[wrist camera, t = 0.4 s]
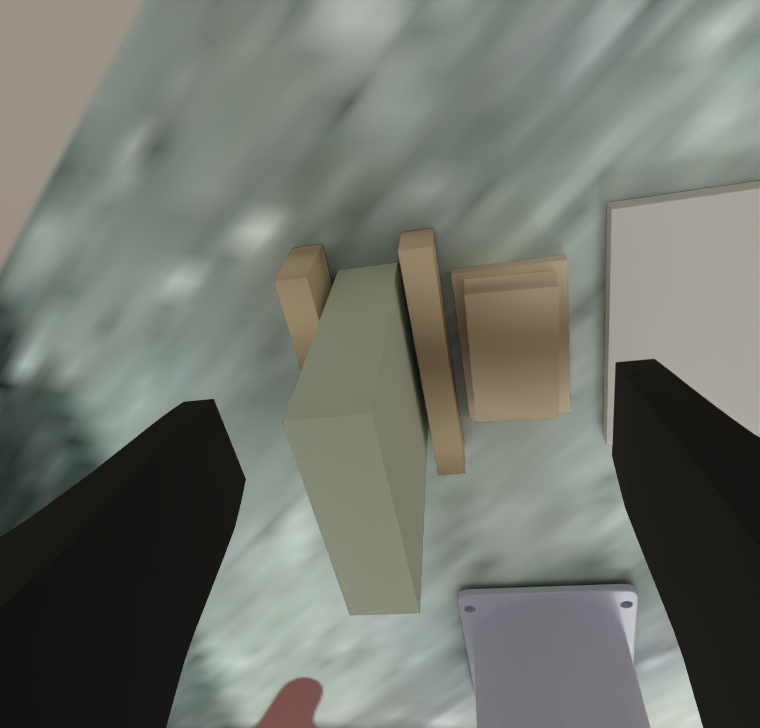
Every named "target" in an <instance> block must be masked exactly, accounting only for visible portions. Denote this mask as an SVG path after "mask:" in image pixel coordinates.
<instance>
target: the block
mask: <svg viewBox="0 0 760 728" xmlns="http://www.w3.org/2000/svg"><path fill="white" fill-rule="evenodd" d="M283 424H284V427H285V430H286V433H287V436H288V439H289V442H290V445H291V447H292V450H293V453H294V456H295V459H296V462H297V465H298V468H299V471H300V473H301V476H302V479H303V482H304V485H305V488H306V491H307V494H308V496H309V499H310V502H311V505H312V508H313V511H314V514H315V517H316V520H317V522H318V525H319V528H320V531H321V534H322V537H323V540H324V543H325V546H326V548H327V551H328V554H329V557H330V560H331V563H332V566H333V569H334V572H335V574H336V577H337V580H338V583H339V586H340V589H341V592H342V595H343V598H344V600H345V603H346V606H347V609H348V612H349V615H375V614H409V613H420V599H421V576H422V553H423V530H424V506H425V483H426V460H427V437H428V427H427V421H426V416H425V410H424V405H423V399H422V394H421V389H420V383H419V378H418V372H417V367H416V361H415V356H414V350H413V345H412V339H411V334H410V329H409V323H408V318H407V312H406V307H405V301H404V296H403V290H402V285H401V280H400V274H399V269H398V263H390V264H382V265H375V266H368V267H360V268H353V269H345V270H338V272H337V275H336V278H335V280H334V283H333V286H332V288H331V291H330V294H329V297H328V299H327V302H326V305H325V307H324V310H323V313H322V316H321V318H320V321H319V324H318V327H317V329H316V332H315V335H314V337H313V340H312V343H311V346H310V348H309V351H308V354H307V356H306V359H305V362H304V365H303V367H302V370H301V373H300V375H299V378H298V381H297V384H296V386H295V389H294V392H293V395H292V397H291V400H290V403H289V405H288V408H287V411H286V414H285V416H284V419H283Z"/></svg>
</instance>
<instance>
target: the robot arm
mask: <svg viewBox="0 0 760 728" xmlns="http://www.w3.org/2000/svg"><path fill="white" fill-rule="evenodd" d="M612 457H613V461H614V465H615V469H616V474H617V478H618V482H619V486H620V490H621V493H622V497H623V501H624V505H625V508H626V511H627V513H628V516H629V519H630V521H631V524H632V526H633V529H634V532H635V534H636V537H637V539H638V542H639V544H640V547H641V549H642V552H643V554H644V557H645V559H646V562H647V565H648V567H649V570H650V572H651V575H652V577H653V580H654V582H655V585H656V587H657V590H658V592H659V595H660V597H661V600H662V602H663V605H664V607H665V610H666V612H667V615H668V617H669V620H670V622H671V625H672V627H673V630H674V633H675V636H676V639H677V641H678V644H679V647H680V650H681V653H682V656H683V659H684V662H685V666H686V669H687V672H688V676H689V679H690V683H691V686H692V690H693V693H694V697H695V700H696V704H697V707H698V711H699V714H700V718H701V721H702V725H703V728H760V438H759V437H758V436H756V435H755V434H753V433H752V432H751V431H749V430H748V429H746V428H745V427H744V426H742V425H741V424H739V423H738V422H737V421H735V420H734V419H732V418H731V417H730V416H728V415H727V414H726V413H724V412H723V411H722V410H720V409H719V408H718V407H716V406H715V405H714V404H712V403H711V402H710V401H708V400H707V399H706V398H704V397H703V396H702V395H700V394H699V393H698V392H697V391H695V390H694V389H693V388H691V387H690V386H689V385H688V384H686V383H685V382H684V381H683V380H681V379H680V378H679V377H677V376H676V375H675V374H674V373H672V372H671V371H670V370H669V369H667V368H666V367H665V366H663V365H662V364H661V363H660V362H658V361H657V360H656V359H645V360H634V361H623V362H615V389H614V417H613V444H612ZM245 481H246V479H245V476H244V474H243V471H242V469H241V466H240V464H239V461H238V459H237V456H236V454H235V451H234V449H233V446H232V444H231V441H230V439H229V436H228V434H227V431H226V429H225V426H224V424H223V421H222V419H221V416H220V414H219V411H218V409H217V406H216V404H215V401H214V399H209V400H198V401H187V402H183V403H181V404H180V405H178V406H177V407H175V408H174V409H172V410H171V411H170V412H168V413H167V414H165V415H164V416H163V417H161V418H160V419H159V420H158V421H156V422H155V423H154V424H152V425H151V426H150V427H149V428H147V429H146V430H145V431H143V432H142V433H141V434H140V435H138V436H137V437H136V438H135V439H133V440H132V441H131V442H130V443H128V444H127V445H126V446H125V447H123V448H122V449H121V450H119V451H118V452H117V453H116V454H114V455H113V456H112V457H111V458H109V459H108V460H107V461H106V462H104V463H103V464H102V465H101V466H99V467H98V468H97V469H95V470H94V471H93V472H92V473H90V474H89V475H88V476H86V477H85V478H84V479H82V480H81V481H79V482H78V483H77V484H75V485H74V486H73V487H71V488H70V489H69V490H67V491H66V492H65V493H63V494H62V495H61V496H59V497H58V498H57V499H55V500H54V501H52V502H51V503H50V504H48V505H47V506H46V507H44V508H43V509H42V510H40V511H39V512H37V513H36V514H34V515H33V516H32V517H30V518H29V519H27V520H26V521H24V522H23V523H21V524H20V525H18V526H17V527H15V528H14V529H12V530H11V531H9V532H8V533H6V534H5V535H3V536H1V537H0V728H166V727H167V723H168V718H169V715H170V711H171V708H172V704H173V700H174V697H175V693H176V689H177V686H178V682H179V679H180V675H181V671H182V668H183V664H184V661H185V658H186V655H187V652H188V649H189V646H190V643H191V641H192V638H193V635H194V632H195V630H196V627H197V625H198V622H199V620H200V617H201V614H202V612H203V609H204V607H205V604H206V602H207V599H208V596H209V594H210V591H211V589H212V586H213V584H214V581H215V579H216V576H217V573H218V571H219V568H220V566H221V563H222V560H223V558H224V555H225V552H226V550H227V547H228V545H229V542H230V539H231V536H232V534H233V531H234V528H235V525H236V521H237V517H238V513H239V509H240V504H241V500H242V495H243V490H244V485H245ZM638 597H639V596H638V593H637V589H636V587H634V586H633V585H630V584H603V585H574V586H545V587H516V588H487V589H465V590H462V591H460V592H459V593H458V606H459V611H460V616H461V622H462V627H463V633H464V638H465V643H466V649H467V654H468V659H469V665H470V670H471V676H472V681H473V686H474V692H475V697H476V714H477V728H650V725H649V721H648V717H647V713H646V710H645V706H644V702H643V698H642V695H641V691H640V687H639V683H638V680H637V676H636V672H635V668H634V653H635V639H636V625H637V611H638Z"/></svg>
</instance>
